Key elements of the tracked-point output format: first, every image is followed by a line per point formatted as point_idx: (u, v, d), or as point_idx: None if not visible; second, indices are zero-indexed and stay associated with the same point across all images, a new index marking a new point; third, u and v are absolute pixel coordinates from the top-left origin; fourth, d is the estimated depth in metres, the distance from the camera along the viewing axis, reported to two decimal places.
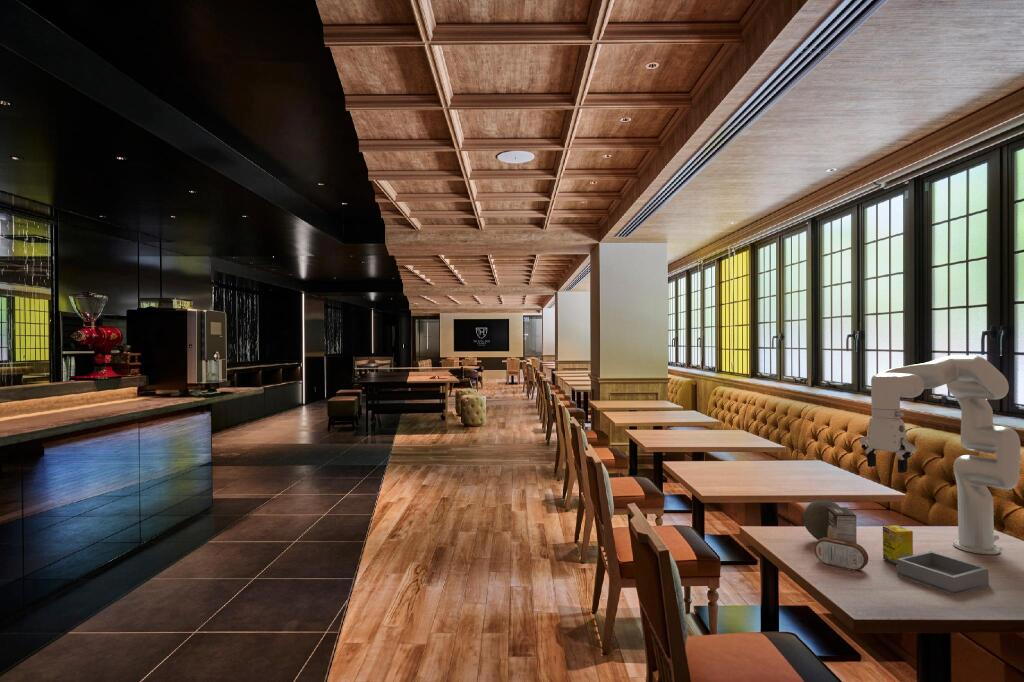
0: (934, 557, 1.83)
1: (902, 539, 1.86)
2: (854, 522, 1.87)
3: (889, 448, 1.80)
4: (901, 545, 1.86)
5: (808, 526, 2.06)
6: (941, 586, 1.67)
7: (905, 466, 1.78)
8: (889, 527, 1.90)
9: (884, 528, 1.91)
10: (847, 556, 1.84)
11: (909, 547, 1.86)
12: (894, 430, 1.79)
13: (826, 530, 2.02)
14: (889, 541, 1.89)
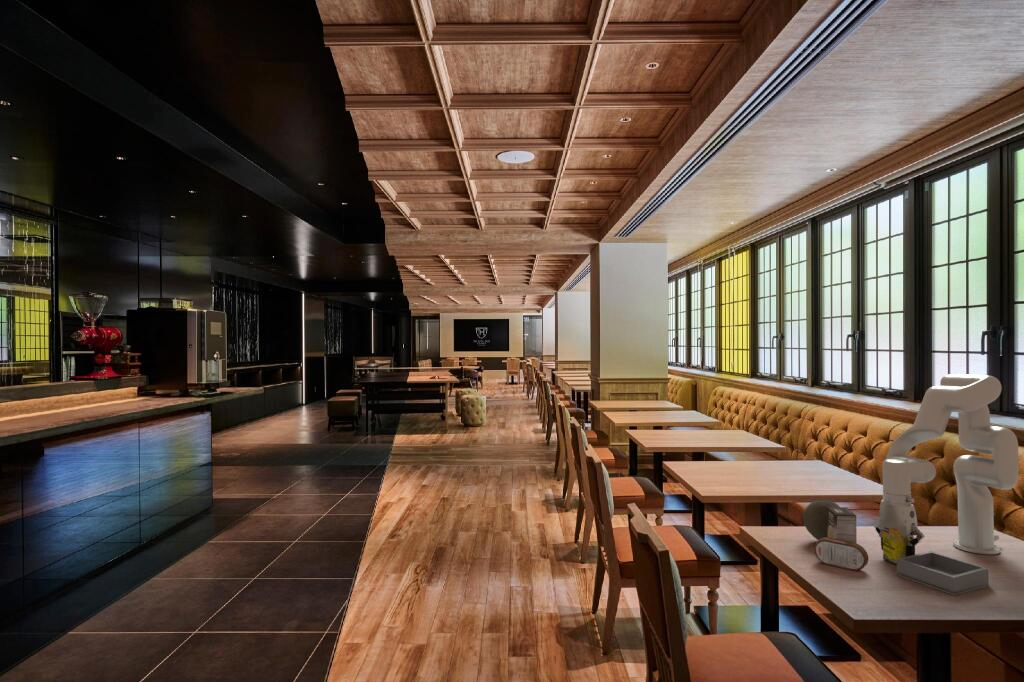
0: (934, 557, 1.83)
1: (902, 539, 1.86)
2: (854, 522, 1.87)
3: (900, 532, 1.86)
4: (900, 545, 1.86)
5: (808, 526, 2.06)
6: (941, 586, 1.67)
7: (913, 552, 1.85)
8: None
9: (884, 528, 1.91)
10: (847, 556, 1.84)
11: None
12: (904, 515, 1.85)
13: (826, 530, 2.02)
14: (889, 541, 1.89)
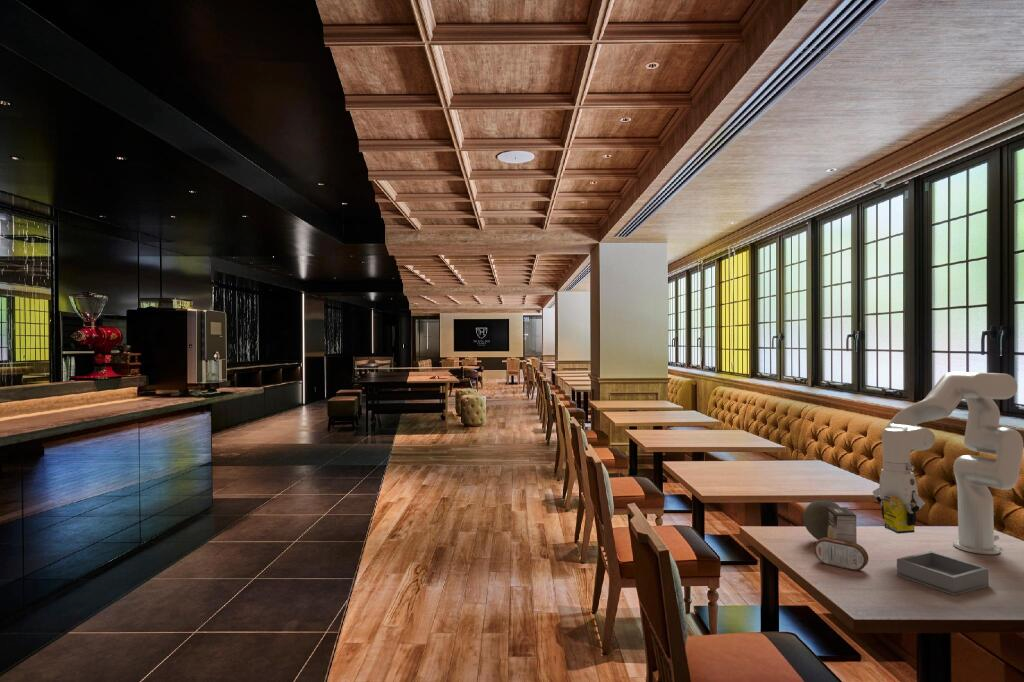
0: (934, 557, 1.83)
1: (903, 507, 1.87)
2: (854, 522, 1.87)
3: None
4: (901, 513, 1.87)
5: (808, 526, 2.06)
6: (941, 586, 1.67)
7: (914, 519, 1.85)
8: None
9: (885, 497, 1.91)
10: (847, 556, 1.84)
11: None
12: (905, 483, 1.85)
13: (826, 530, 2.02)
14: (890, 509, 1.89)
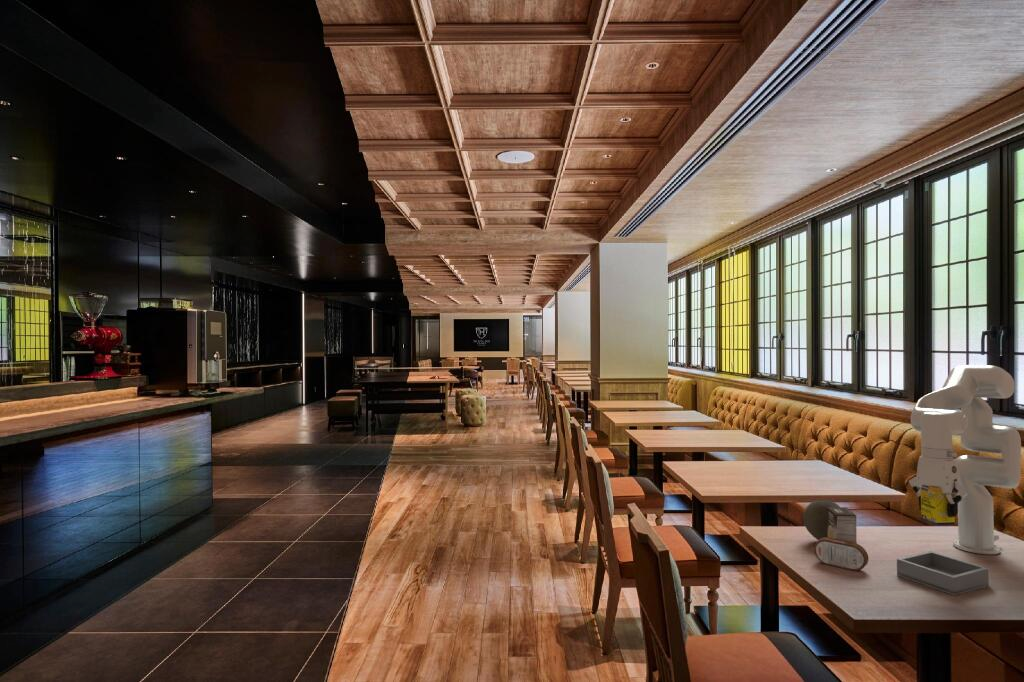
0: (934, 557, 1.83)
1: (943, 497, 1.72)
2: (854, 522, 1.87)
3: (941, 489, 1.72)
4: (941, 503, 1.72)
5: (808, 526, 2.06)
6: (941, 586, 1.67)
7: (955, 510, 1.71)
8: None
9: (922, 486, 1.77)
10: (847, 556, 1.84)
11: None
12: (946, 471, 1.71)
13: (826, 530, 2.02)
14: (928, 499, 1.75)
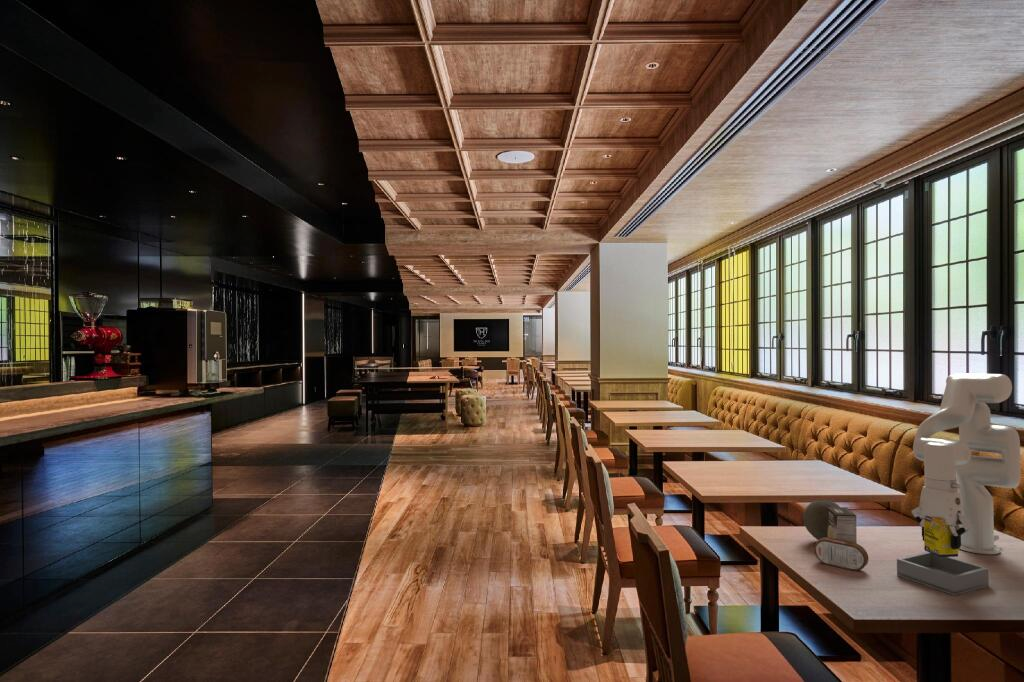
0: (934, 557, 1.83)
1: (946, 528, 1.71)
2: (854, 522, 1.87)
3: None
4: (945, 535, 1.71)
5: (808, 526, 2.06)
6: (941, 586, 1.67)
7: (959, 542, 1.70)
8: None
9: (926, 517, 1.76)
10: (847, 556, 1.84)
11: None
12: (950, 503, 1.70)
13: (826, 530, 2.02)
14: (931, 531, 1.74)
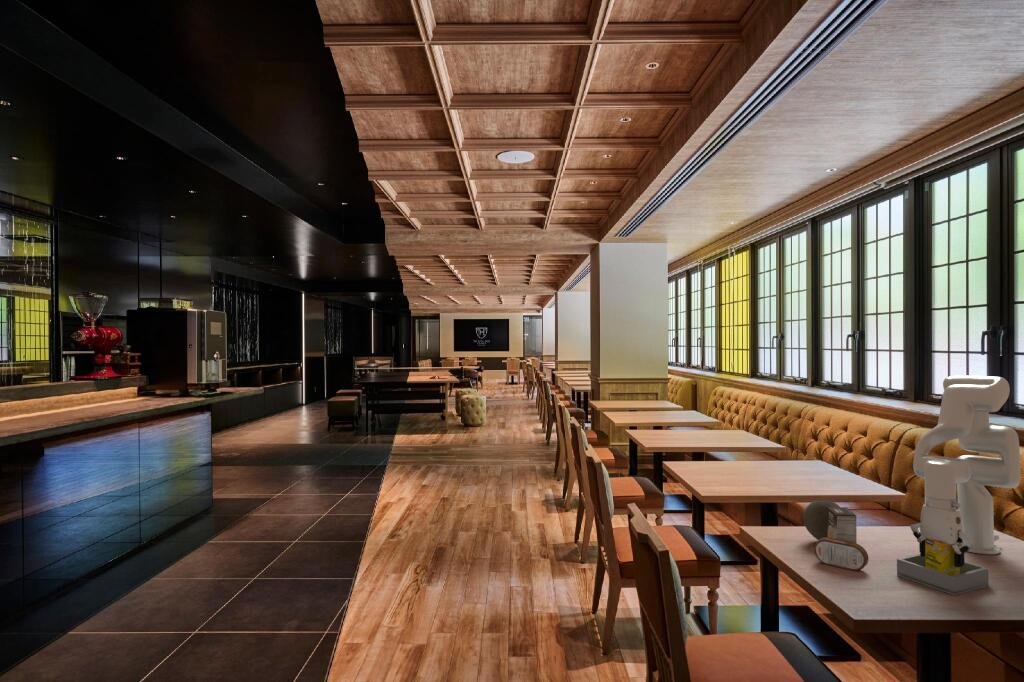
0: None
1: (949, 552, 1.71)
2: (854, 522, 1.87)
3: (945, 540, 1.71)
4: (947, 559, 1.71)
5: (808, 526, 2.06)
6: (941, 586, 1.67)
7: (962, 560, 1.69)
8: None
9: (927, 540, 1.76)
10: (847, 556, 1.84)
11: None
12: (950, 522, 1.70)
13: (826, 530, 2.02)
14: (934, 554, 1.74)
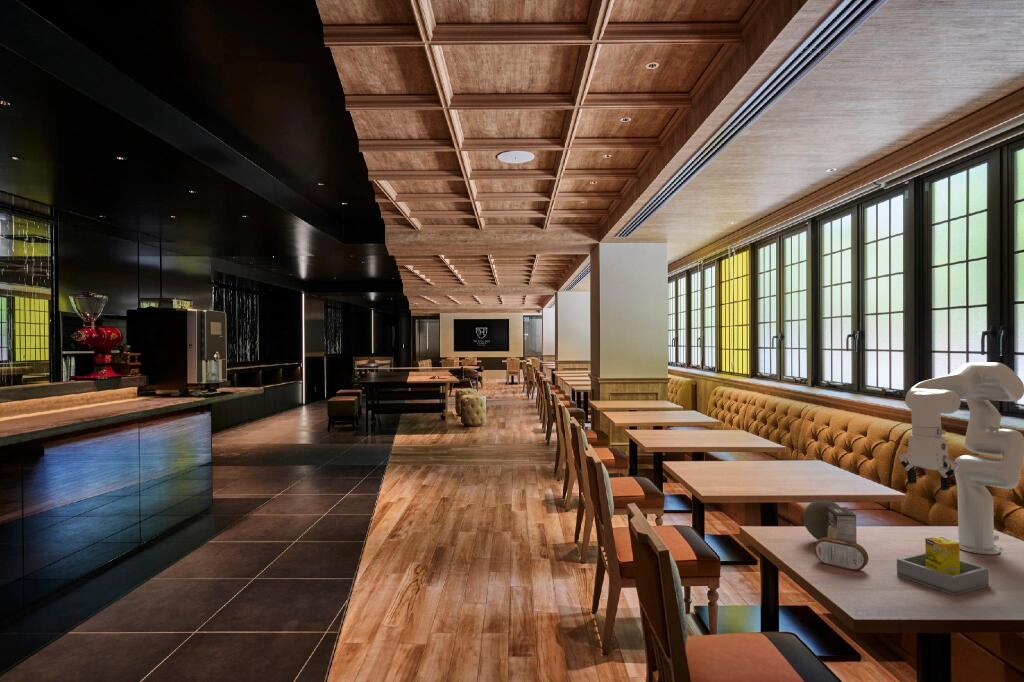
0: None
1: (949, 552, 1.71)
2: (854, 522, 1.87)
3: (931, 466, 1.81)
4: (947, 559, 1.71)
5: (808, 526, 2.06)
6: (941, 586, 1.67)
7: (948, 484, 1.79)
8: (933, 539, 1.75)
9: (927, 540, 1.76)
10: (847, 556, 1.84)
11: (956, 561, 1.72)
12: (936, 448, 1.79)
13: (826, 530, 2.02)
14: (934, 554, 1.74)
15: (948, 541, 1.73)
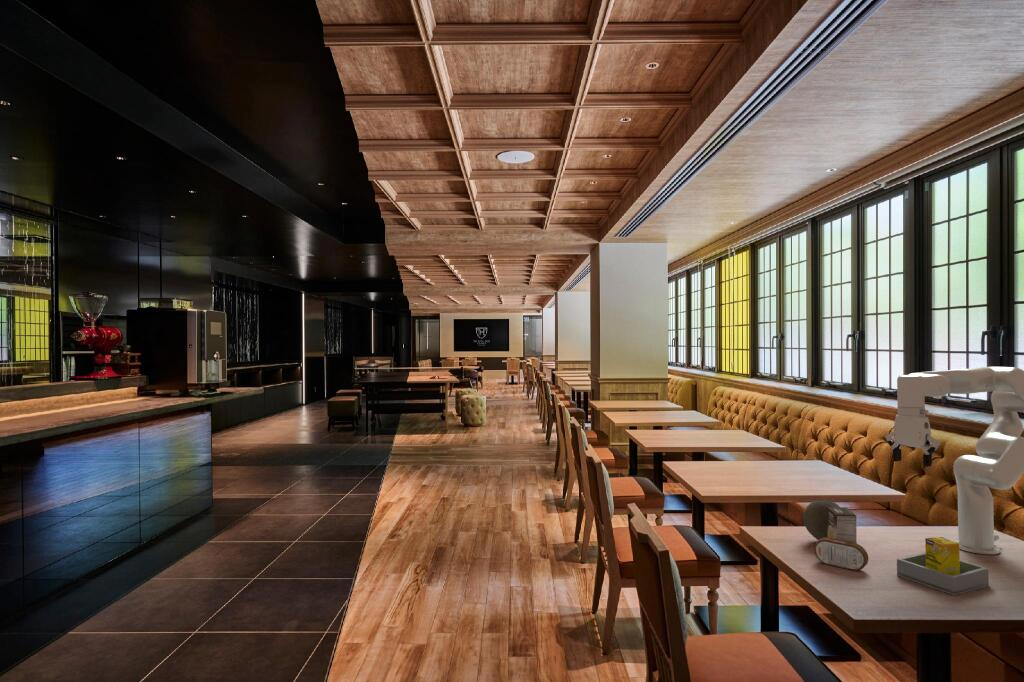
0: None
1: (949, 552, 1.71)
2: (854, 522, 1.87)
3: (914, 443, 1.93)
4: (947, 559, 1.71)
5: (808, 526, 2.06)
6: (941, 586, 1.67)
7: (930, 460, 1.90)
8: (933, 539, 1.75)
9: (927, 540, 1.76)
10: (847, 556, 1.84)
11: (956, 561, 1.72)
12: (919, 427, 1.91)
13: (826, 530, 2.02)
14: (934, 554, 1.74)
15: (948, 541, 1.73)
